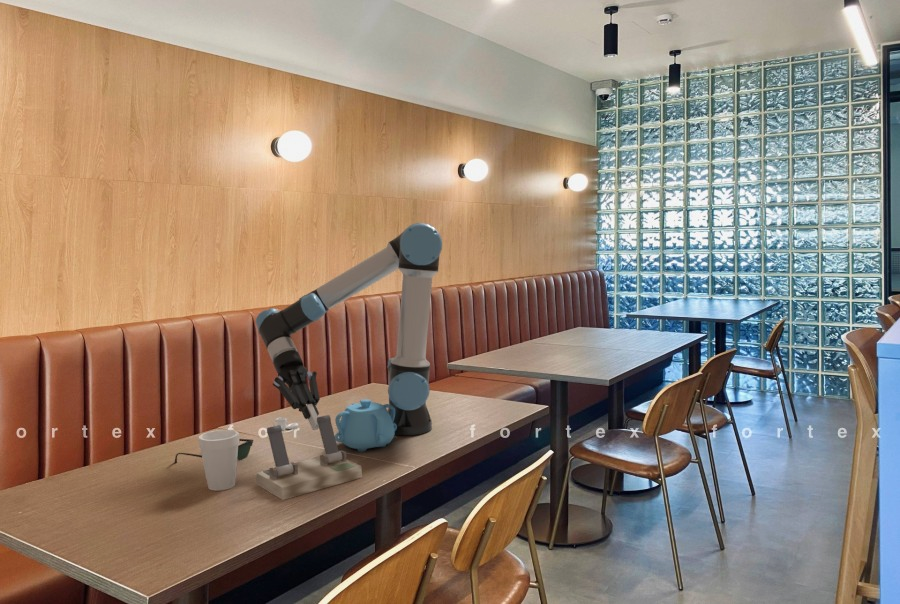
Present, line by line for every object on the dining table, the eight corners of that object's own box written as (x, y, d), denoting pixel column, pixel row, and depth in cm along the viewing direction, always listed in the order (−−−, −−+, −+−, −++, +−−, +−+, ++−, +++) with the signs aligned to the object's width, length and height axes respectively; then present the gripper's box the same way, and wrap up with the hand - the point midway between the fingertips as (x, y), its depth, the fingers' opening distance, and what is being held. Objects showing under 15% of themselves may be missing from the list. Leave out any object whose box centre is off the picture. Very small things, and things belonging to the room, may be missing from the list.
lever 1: (290, 473, 173) (278, 426, 176) (294, 471, 171) (282, 423, 174) (275, 477, 171) (264, 429, 173) (279, 475, 169) (267, 426, 172)
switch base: (333, 464, 189) (332, 444, 188) (361, 477, 178) (361, 456, 177) (256, 484, 174) (255, 463, 174) (282, 499, 164) (281, 477, 163)
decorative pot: (354, 435, 215) (352, 392, 214) (402, 439, 210) (401, 395, 209) (329, 451, 200) (327, 405, 198) (380, 456, 195) (379, 408, 194)
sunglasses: (209, 449, 205) (208, 432, 204) (255, 456, 198) (254, 439, 197) (165, 467, 190) (164, 449, 189) (213, 475, 183) (212, 456, 182)
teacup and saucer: (300, 427, 226) (300, 415, 226) (292, 434, 219) (292, 421, 218) (274, 427, 227) (273, 414, 227) (265, 434, 220) (264, 421, 219)
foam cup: (199, 494, 168) (196, 442, 167) (202, 481, 177) (200, 431, 176) (241, 490, 171) (238, 438, 169) (241, 477, 179) (239, 428, 178)
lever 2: (339, 461, 182) (327, 415, 185) (343, 459, 180) (331, 413, 183) (325, 464, 180) (314, 418, 182) (329, 462, 178) (318, 416, 181)
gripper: (302, 362, 203) (333, 430, 192) (259, 368, 194) (290, 439, 183) (310, 346, 198) (343, 414, 187) (267, 351, 190) (299, 424, 179)
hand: (317, 427), depth 185 cm, fingers closed
